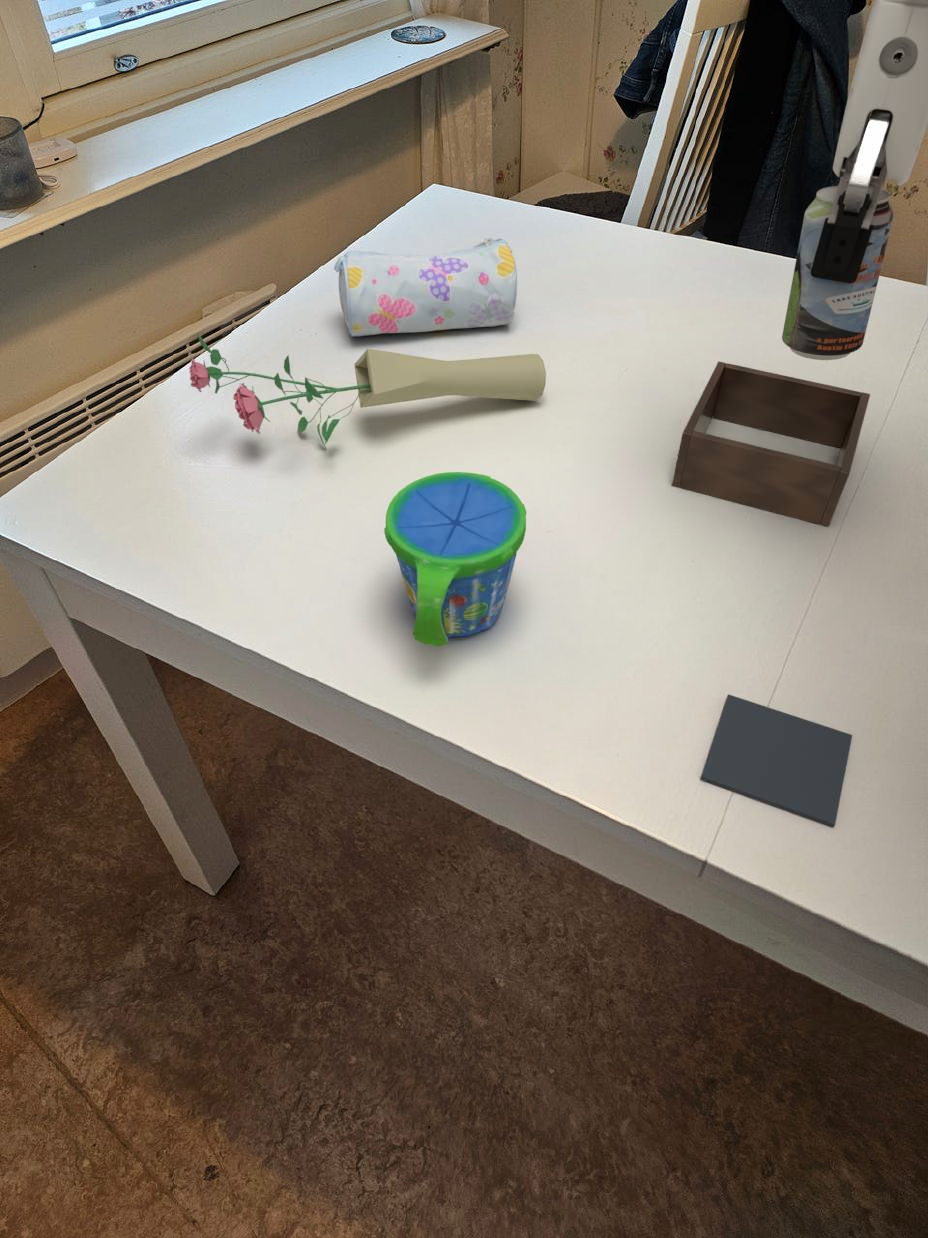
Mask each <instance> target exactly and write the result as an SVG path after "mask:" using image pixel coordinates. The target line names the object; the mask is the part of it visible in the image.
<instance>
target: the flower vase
mask: <svg viewBox="0 0 928 1238" xmlns="http://www.w3.org/2000/svg"><path fill="white" fill-rule="evenodd" d="M197 338H198V340H199V341H198V342H200V345H201V346H202V347H203V349H204V350H205V351H206V352H207V353H209V359H210V363H211V364H212V365H214V366H212V365H211V366H206V362H205V361H203V364H202V363H200V362H198V361H196V359H195V358H192V359H191V362H190V363H191V365H190V366H189V367H188V369H189V371H188V372H189V374H190V376H189V380H190V381H191V382H190V386H191V387H192V388H195V389H197V390H198V392H200V393H202V392H203V391H202V389H203V388H206V387H207V386H208V387H209V388H211V386H210V381H211V378H212V379H214V380H215V391H214V393H215V394H217V393H218V392H219V390H220V388H222V387H225V386H228V385H231V384H233V383H236V382H238V381H241V380H243V379H245V378H247V377H250V376H251V377H257V378H262V379H267V380H272V381H273V382H274V385H275V386H276V388H278V389H279V390H280V391H281V392H282V393H283V395H284V396H281V397H278V398H273V399H269V400H266V401H261V400H260V398H259V396H257V395H256V393H255V390H254V386H253V385H252V386H251V387H252V388H251V389H249V388H248V386H247V385H245V383H244V382H242V383H240V382H239V386H238V388H237V389H236V390H235V391H236V392H235V393H234V394H233V397H232V399H233V400H234V401H235V402H234V408H235V410H236V412H237V414H238V418H239V419H240V420H243V424H242V426H243V427H245V429H247V430H250V431H251V432H252V433H254V431H255V432H256V433H257V434H261V432H260V430H261V426H262V424H263V421H264V419H265V420H266V421H268V422H269V423H270V422H271V421H270V419H268V418H267V417H266V414H265V409H264V407H263V406H266V405H269V404H270V405H271V404H274V403H278V402H282V401H283V402H284V401H289V400H293V399H297V401H296V403H295V402H292V401H289V404H290V406H292V407H293V409H295V410H296V411H297V413H298V415H299V416H302V415H303V411H302V410H301V409H300V408H299V407H298V403H299V400H300V398H306V401H307V402H308V404H310V403H311V402H312V401H313V400H315V401H316V402H317V403H318V404H319V405H320V407H319V408H318V410H317V411H316V413H315V414H314V416H313V417H312V418H311V419H310V421H308V419H307V418H306V417H305V416H302V417H300V419H299V421H298V422H297V430H296V432H297V434H298V435H299V434H301V433H303V432H305V431H306V429H307V427H308V425H309V423H311V422H312V421H313V420H314V419H315V417H316V416H317V414H318V413H319V417H320V419H322V413H321V412H320V411H321V408H322V407H323V406H324V405H325V403H326V402H327V401H328V400H329V399H330V398H331V397H332V396H333V395H334V394H336V393H339V392H347V391H353V390H354V391H355V390H357V392H358V394H357V397H356V398H355V400H354V401H353V402H352V403H351V404H350V405H348V406H347V407H345V408H342V409H340V410H339V411H337V412H335V413H334V414H332V415H330V414H328V415H327V418H326V420H325V421H324V422H323V424H322V422H321V421H322V420H320V421H319V423H318V424H317V427H316V429H317V434H318V436H319V438H320V441H321V443H322V445H323V446H324V449H325V450H326V451H328V449H327V446H326V445H327V443H328V441H329V439H330V438H331V436H332V434H333V432H334V430H335V428H336V427H337V425H338V424H339V422H340V420H341V419H343V418H345V417H348V416H349V414H350V413H351V412H352V410H353V407H354V405H355V403H356V402H357V400H359V401H358V402H359V407H360V409H363V408H369V407H376V406H377V407H378V406H384V405H390V404H397V403H404V402H405V403H406V402H412V401H418V400H419V401H420V400H426V399H433V398H440V397H446V396H455V397H457V396H459V397H473V398H487V399H501V400H504V399H505V400H518V401H534V402H537V401H538V400H539V399H540V398H541V397H542V396H543V394H544V390H545V388H546V382H547V381H546V380H547V371H546V366H545V362H544V359H543V358H542V357H541V356H540V354H539V353H528V354H515V355H505V356H494V357H483V358H481V357H480V358H471V359H458V360H441V359H436V358H429V357H423V356H416V355H410V354H406V353H405V354H404V353H399V352H398V353H397V352H391V351H387V350H379V349H373V348H367V349H366V350H365V351H364V353H362V354H361V355H360V357H359V358H358V359H357V361H356V362H354V364H353V365H354V371H355V378H356V385H352V386H345V387H332V386H327V385H324V384H323V383H321V382H320V381H316V380H312V379H310V378H307V377H306V376H305V377H304V382H303V381H295V380H294V378H293V376H292V375H291V365H290V364H291V363H290V355H289V354H287V356H286V357H285V359H284V361H283V369H284V372H285V373H286V375H288V376H289V377H290V379H292V380H290V379H284V378H281V377H280V375H279V372H277V373H276V374H275V376H268V375H264V374H260V373H255V372H253V373H252V372H244V371H230V369H229V366H228V364H227V359H226V358H224V357H222V354H221V353H220V351H219V349H216V348H213V349H210V347H209V346H208V345H207V343H206V341H205V340H203V337H202V336H200V334H199V333H197ZM221 361H223V363H224V364H225V366H226V368H227V371H222V369H221V368H219V367H216V366H219V364H220V362H221ZM226 375H238V376H243V377H241V378H235V377H231V376H226ZM221 378H228V379H231V380H233V381H231V382H229V383H226V384H223V385H220V381H219V380H221ZM311 382H315V383H317V384H315V383H311ZM283 383H288V384H293V385H294V386H295V387H294V388H295V389H296V390H297V391H294V390H284V387H283ZM297 385H300V386H304V388H305V391H300V390H299V389H298V387H297ZM316 388H320V389H323V390H317V389H316ZM286 393H297V394H292V395H286ZM324 394H330V395H329V396H328V397H327V398H326V399H325V400H324V397H323V396H322V395H324ZM316 398H317V399H322V400H324V401H323V403H321V402H319V401H318V400H317V399H316ZM349 407H351V409H350V411H349V412H348V413H347V414H346V415H343V416H342V417H341V418H333V419H332V420H331V421H330V422H328V420H329V419H331V418H332V417H334V416H335V415H337V414H338V413H340V412H342V411H344V410H346V409H348V408H349ZM328 423H329V424H328ZM321 424H322V426H320V425H321ZM320 427H321V429H320ZM322 437H323V438H322ZM324 441H325V442H324Z"/></svg>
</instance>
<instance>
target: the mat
mask: <svg viewBox="0 0 928 1238" xmlns="http://www.w3.org/2000/svg"><path fill="white" fill-rule="evenodd" d="M721 711H722V712H721V715H720V718H719V720H718V724H717V726H716V730H715V733H714V736H713V739H712V742H711V744H710V748H709V750H708V754H707V757H706V760H705V764H704V767H703V770H702V773H701V776H700V780H701V781H704V782H706V783H709V784H712V785H715V786H718V787H721V788H723V789H726V790H729V791H731V792H734V793H737V794H739V795H742V796H745V797H748V798H751V799H754V800H756V801H759V802H761V803H765V804H768V805H770V806H773V807H775V808H778V809H781V810H784V811H787V812H790V813H792V814H795V815H797V816H799V817H800V816H801V817H803V818H805V819H809V820H812V821H814V822H816V823H820V824H823V825H825V826H827V827H831V828H834V827H835V825H836V821H837V816H838V810H839V806H840V801H841V795H842V791H843V790H842V789H843V785H844V780H845V776H846V775H845V774H846V771H847V770H846V768H847V765H848V759H849V756H850V755H849V754H850V750H851V749H850V748H851V743H852V740H853V739H852V738H853V735H852V734H851V733H847V732H845V731H842V730H839V729H835V728H833V727H829V726H826V725H824V724H821V723H817V722H814V721H811V720H808V719H805V718H803V717H799V716H797V715H796V716H795V715H793V714H790V713H788V712H787V713H786V712H783V711H781V710H778V709H776V708H775V709H774V708H772V707H769V706H765V705H763V704H759V703H757V702H753V701H750V700H748V699H744V698H741V697H738V696H735V695H732V694H729V693H728V694H727V697H726V699H725V702H724V706H723V708H722V710H721Z"/></svg>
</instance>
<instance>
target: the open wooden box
mask: <svg viewBox="0 0 928 1238" xmlns="http://www.w3.org/2000/svg"><path fill="white" fill-rule="evenodd" d="M870 397H871V394H870V393H867V392H863V391H857V390H854V389H847V388H844V387H839V386H834V385H829V384H825V383H820V382H815V381H812V380H807V379H803V378H797V377H793V376H788V375H784V374H780V373H779V374H778V373H774V372H771V371H765V370H761V369H756V368H751V367H746V366H742V365H737V364H732V363H728V362H723V361H717V363H716V365H715V367H714V370H713V372H712V373H711V375H710V378H709V379H708V381H707V384H706V385H705V387H704V389H703V392H702V394H701V395H700V397H699V399H698V400H697V404H696V405H695V407H694V409H693V412H692V414H691V416H690V417H689V418H688V422H686V425H685V428H684V429H683V431H682V434H681V438H680V442H679V448H678V452H677V458H676V462H675V467H674V472H673V478H672V480H671V486H672V487H676V488H680V489H683V490H687V491H691V492H695V493H699V494H702V495H706V496H711V497H714V498H718V499H720V500H725V501H729V502H733V503H737V504H739V505H740V504H741V505H745V506H748V507H751V508H755V509H759V510H762V511H763V510H764V511H767V512H771V513H775V514H779V515H783V516H785V517H790V518H794V519H798V520H801V521H806V522H809V523H812V524H813V523H814V524H817V525H820V526H824V527H829V526H830V525H831V523H832V519H833V517H834V514H835V512H836V509H837V507H838V504H839V502H840V499H841V496H842V494H843V492H844V489H845V486H846V484H847V480H848V478H849V476H850V472H851V469H852V465H853V462H854V458H855V453H856V450H857V447H858V444H859V443H858V442H859V440H860V435H861V431H862V428H863V423H864V421H865V416H866V411H867V408H868V405H869V400H870ZM713 419H717V420H721V421H725V422H729V423H732V424H733V423H734V424H738V425H742V426H746V427H751V428H755V429H759V430H762V431H767V432H771V433H775V434H780V435H785V436H789V437H793V438H797V439H801V440H805V441H810V442H815V443H819V444H823V445H827V446H832V447H834V448H839V449H840V450H839V455H838V458H837V462H836V464H833V463H829V462H825V461H820V460H817V459H812V458H808V457H804V456H800V455H796V454H792V453H788V452H783V451H780V450H779V451H778V450H775V449H771V448H766V447H763V446H758V445H755V444H750V443H746V442H742V441H739V440H738V441H737V440H734V439H729V438H726V437H721V436H717V435H713V434H709V433H707V430H708V428H709V426H710V424H711V422H712V420H713Z"/></svg>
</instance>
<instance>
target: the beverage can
mask: <svg viewBox="0 0 928 1238" xmlns="http://www.w3.org/2000/svg"><path fill="white" fill-rule="evenodd" d="M847 187H848V186H847ZM873 188H874V187H868V191H867V194H870V197H871V194H872V191H873ZM837 189H838V185H833V186H827V187H823V188H821V189H819V190H818V191H816V196H815V198H814V199H813V200H812V202H811V203H810V204H809V205H808V206H807V208H806V210H805V211H804V215H803V221H802V226H801V231H800V238H799V242H798V248H797V253H796V258H795V264H794V270H793V276H792V280H791V286H790V292H789V297H788V302H787V307H786V313H785V319H784V324H783V325H784V326H783V329H782V335H781V341H782V342H783V343H784V345H786V346H787V347H789V349H790V351H791V352H792V353H794V354H795V355H797V356H799V357H802V358H806V359H809V360H816V361H834V360H835V361H836V360H840V359H843V358H846V357H848V356H849V355H850V354H851V353H854V352H857V351H859V350H860V348H862V346H863V344H864V341H865V336H866V334H867V333H866V332H867V328H868V325H869V321H870V316H871V312H872V307H873V304H874V299H875V296H876V292H877V287H878V282H879V280H880V275H881V270H882V267H883V263H884V260H885V259H884V258H885V254H886V250H887V248H888V247H887V246H888V242H889V238H890V233H891V230H892V226H893V221H894V210H893V208H892V205H891V203H890V198H891V194H890V192H888V191H887V190H886V189H885V190H886V191H885V190H884V189H882V190H881V193H880V196H879V199H878V202H877V205H876V208H875V211H874V214H873V217H872V220H871V223H870V225H874V227H873V230H872V233H871V236H870V239H869V242H868V245H867V249H866V252H865V255H864V258H863V261H862V264H861V267H860V270H859V273H858V276H857V279H856V281H855V282H854V283H851V284H849V283H843V282H838V281H832V280H826V279H821V278H815V277H813V276H811V273H810V272H811V268H812V265H813V261H814V257H815V254H816V250H817V247H818V243H819V240H820V236H821V233H822V229H823V225H824V222H825V219H826V218H829V215H830V212H831V208H832V205H833V202H834V198H835V195H836V192H837ZM846 190H847V188H846ZM866 210H867V209H866ZM865 213H866V212H865ZM864 216H865V215H864Z"/></svg>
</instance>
